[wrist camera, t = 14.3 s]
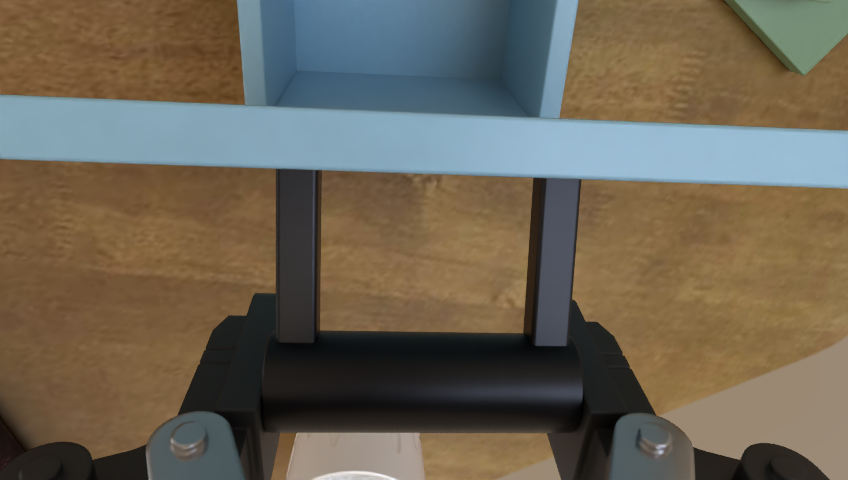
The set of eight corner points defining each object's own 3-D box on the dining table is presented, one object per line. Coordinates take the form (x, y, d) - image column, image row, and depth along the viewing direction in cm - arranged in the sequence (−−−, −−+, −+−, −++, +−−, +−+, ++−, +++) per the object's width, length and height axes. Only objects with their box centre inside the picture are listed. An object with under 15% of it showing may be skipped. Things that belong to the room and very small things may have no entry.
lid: (-20, 93, 7) (10, 511, 8) (866, 131, 8) (810, 504, 9) (244, 128, 21) (245, 279, 22) (558, 140, 22) (548, 286, 23)
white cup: (294, 429, 40) (268, 569, 32) (308, 336, 37) (283, 463, 28) (408, 442, 42) (414, 580, 33) (432, 352, 38) (445, 480, 29)
